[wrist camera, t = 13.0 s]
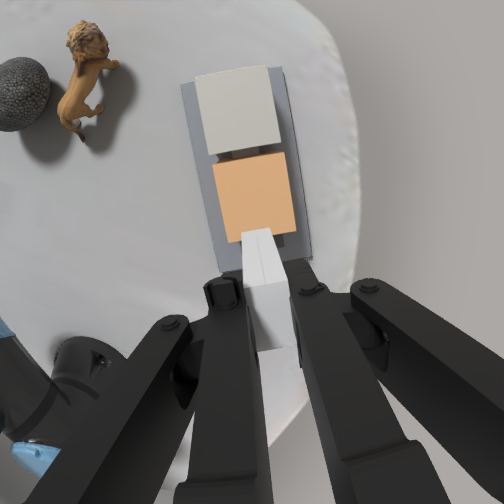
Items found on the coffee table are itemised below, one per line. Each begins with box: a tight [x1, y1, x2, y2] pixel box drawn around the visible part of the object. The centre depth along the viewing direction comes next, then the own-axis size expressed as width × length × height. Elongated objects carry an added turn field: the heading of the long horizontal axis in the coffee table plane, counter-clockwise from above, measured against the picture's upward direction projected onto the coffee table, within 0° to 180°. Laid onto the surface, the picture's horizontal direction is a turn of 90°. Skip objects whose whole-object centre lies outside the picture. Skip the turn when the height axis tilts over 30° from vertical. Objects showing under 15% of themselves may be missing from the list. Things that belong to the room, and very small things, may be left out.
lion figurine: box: [57, 20, 119, 143], centre depth 29 cm, size 15×5×9 cm, turn 167°
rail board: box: [180, 64, 312, 272], centre depth 34 cm, size 12×24×8 cm, turn 10°
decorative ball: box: [0, 57, 50, 132], centre depth 28 cm, size 10×10×10 cm
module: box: [212, 150, 296, 243], centre depth 34 cm, size 7×8×7 cm
